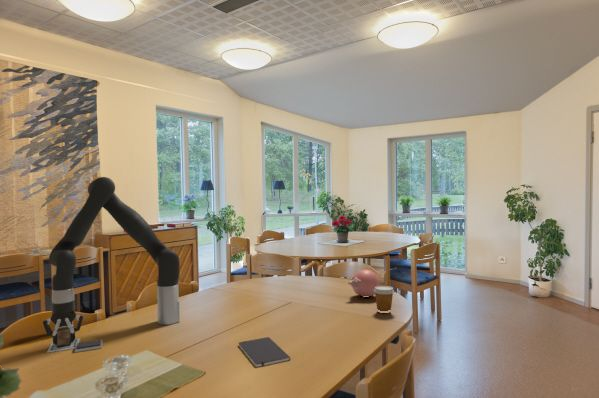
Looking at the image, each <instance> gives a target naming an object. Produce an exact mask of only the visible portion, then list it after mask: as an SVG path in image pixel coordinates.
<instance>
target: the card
mask: <svg viewBox="0 0 599 398" xmlns="http://www.w3.org/2000/svg"><path fill="white" fill-rule="evenodd" d="M79 341H80V342H81V338H75V340H74V341H73V343H71V345H70V346H67V347H60V348H57V345H55V344H53V342H50V344H49V347H48V348H47V351H46V354H49V352H50V353H54V352H55V351H56V352H60V351H68V349H69V350H73V349H74V350H75V347H76V344H78V343H80V342H79Z"/></svg>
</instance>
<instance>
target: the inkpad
mask: <svg viewBox="0 0 599 398" xmlns="http://www.w3.org/2000/svg"><path fill="white" fill-rule="evenodd" d="M103 341H104V340H103V339H94V340H89V341H80V342H79V343H78V344H76V347H75V349H74V353H80V352H85V351H87V352H88V351H92V350H93V351H94V350H98V349H99V350H100V349H102V348H103Z"/></svg>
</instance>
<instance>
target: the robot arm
mask: <svg viewBox="0 0 599 398" xmlns="http://www.w3.org/2000/svg"><path fill="white" fill-rule="evenodd" d="M115 191H116V184H115V182H114V180H113V179H111V178H110V177H106V176H101V177H97V178H95V179H93V180H92V181H91V182H90V183H89V184H88V186H87V193H88V194H89V195H88V196H87V199H86V201H85V203H84V205H83V206H82V208H81V209H80V210H79V212H78V213H77V214H76V215H75V217H74V219H73V220H72V221H71V223H70V225H69V226H68V228H67V229H66V231H65V233H64V235H63V237H62V238H61V239H60V240H58V242H57V243H56V244H55V246H54V247H53V248H52V249H51V252H50V253H49V255H48V261H49V263H50V264H51V265H52V266H54V267H56V269H55V274H54V275H53V276H52V278H51V279H52V280H51V281H52V282H51V283H52V286H51V287H52V289H51V290H52V292H51V314H52V315H51V317H49V318H45V319H43V321H42V325H43V328H44V330H45V333H46V335H47V336H52V343H53V344H55V345H57V330H58V328H59V327H62V326H68V327H69V329H70V331H71V343H73V341H74V340H75V339H76V332H78V331H80V330H81V326H82V322H83V319H84V314H83V313H81V314H77V313H76V311H75V310H76V309H75V308H76V306H75V305H76V302H75V303H74V300H75V290H74V274H75V270H76V266H77V265H76V264H77V258H76V253H74V252H73V251H74V250H75V248H76V247H79V246H81V244H82V243H83V242H84V240H85V239H86V236H87V235H88V233H89V231H90V229H91V227H92V226H93V223H94V222H95V220H96V219H97V217H98V214H99V213H100V212H101V210H102V208H103V209H105V211H107V213H108V214H109V215H111V217H112V218H113V219H114V221H115V222H116V223H117V224H118V225H119V226H120V227H121V228H122V230H124V232H125V233H126V234H128V236H129V237H130V238H131V239H132V240H133V241H135V242H136V243H137V244H138V245H139V246H141V247H142V248H143V249H144V250H145V251H146V252H147V253H148V254H149V256H150V257H151V258H152V260H153V261H154V263H156V265H157V266H158V268H157V271H158V273H157V274H158V276H157V277H158V278H157V280H156V282H157V283H156V285H157V286H156V288H157V289H156V290H157V297H156V299H157V324H158V325H163V326H167V325H169V326H170V325H174V324H176V323H179V322H180V299H179V294H180V293H179V279H180V257H179V254H178V253H177V252H176V251H173V250H172V249H170V248H169V247H168V246H167V245H165V244H164V243H163V241H161V240H160V239H159V238H158V236H157V235H156V233H155V231H154V230H153V228H152V227H151V225H150V224H149V223H148V222H147V221H146V220H145V218H144V217H143V216H142V215H140V213H138V211H136V210H135V209H133V208H132V207H130V205H127V204H126V203H124V202H123V201H122V200H121V199H120V198H119V196H117V194H116V193H115ZM75 318H76V320H77V321H78V322H77V325H76V327H75V326H74V320H75ZM72 321H73V322H72ZM51 322H52V323H53V324H54V328H53V330H52V329H51V326H50V324H51ZM55 325H56V326H55Z"/></svg>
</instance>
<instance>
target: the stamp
mask: <svg viewBox="0 0 599 398" xmlns="http://www.w3.org/2000/svg"><path fill="white" fill-rule="evenodd" d="M70 345H71V331H70V329H69V327H61V328H58V330H57V348H60V347H67V346H70Z"/></svg>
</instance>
